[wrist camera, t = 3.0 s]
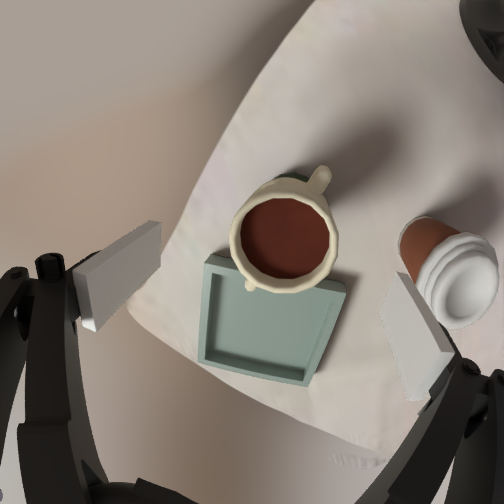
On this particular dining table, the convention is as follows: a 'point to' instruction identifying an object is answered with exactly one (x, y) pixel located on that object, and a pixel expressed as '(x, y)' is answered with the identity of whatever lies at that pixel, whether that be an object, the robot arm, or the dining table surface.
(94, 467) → the robot arm
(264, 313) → the tray
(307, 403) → the dining table surface
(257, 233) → the character mug
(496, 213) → the dining table surface
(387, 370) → the dining table surface
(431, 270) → the coffee cup
